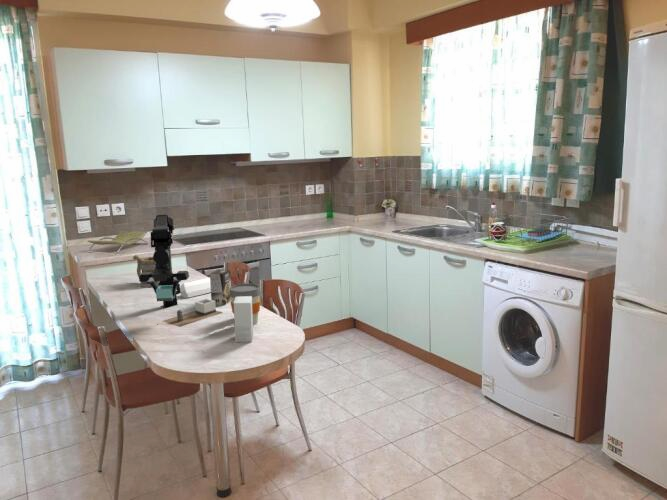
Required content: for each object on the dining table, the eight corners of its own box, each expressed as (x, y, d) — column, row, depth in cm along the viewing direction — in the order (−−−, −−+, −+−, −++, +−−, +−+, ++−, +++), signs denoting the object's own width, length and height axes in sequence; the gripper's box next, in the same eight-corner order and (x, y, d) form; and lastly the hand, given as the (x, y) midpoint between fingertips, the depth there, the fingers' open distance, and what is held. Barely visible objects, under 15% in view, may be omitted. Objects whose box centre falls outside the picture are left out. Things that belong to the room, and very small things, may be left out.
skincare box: (237, 335, 203) (234, 296, 200) (254, 334, 204) (252, 295, 201) (235, 343, 195) (232, 302, 192) (253, 342, 196) (251, 301, 192)
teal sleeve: (160, 297, 220) (159, 285, 219) (175, 296, 220) (174, 285, 219) (156, 301, 214) (155, 289, 213) (171, 300, 214) (171, 288, 213)
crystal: (216, 279, 275) (174, 288, 258) (223, 274, 270) (180, 283, 253) (221, 292, 273) (179, 302, 257) (227, 287, 268) (185, 297, 252)
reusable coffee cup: (248, 329, 209) (246, 293, 206) (224, 324, 215) (222, 289, 212) (268, 320, 219) (266, 285, 216) (245, 316, 226) (243, 282, 223)
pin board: (162, 324, 217) (161, 310, 216) (205, 310, 234) (204, 297, 233) (180, 330, 210) (179, 315, 209) (223, 315, 227) (222, 302, 226)
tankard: (171, 283, 283) (168, 255, 280) (151, 288, 273) (149, 260, 270) (146, 278, 294) (144, 252, 291) (126, 284, 283) (124, 256, 280)
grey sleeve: (195, 313, 226) (194, 302, 225) (206, 309, 231) (206, 298, 230) (204, 315, 222) (203, 304, 221) (215, 312, 227) (215, 300, 226)
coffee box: (224, 309, 236) (222, 273, 233) (211, 308, 238) (209, 273, 234) (232, 303, 245) (230, 269, 242) (219, 302, 246) (217, 268, 243)
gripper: (133, 264, 205) (137, 303, 208) (182, 262, 206) (185, 301, 209) (141, 258, 216) (144, 295, 219) (187, 257, 217) (190, 293, 220)
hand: (166, 296), depth 217 cm, fingers closed on teal sleeve, 6 cm apart
